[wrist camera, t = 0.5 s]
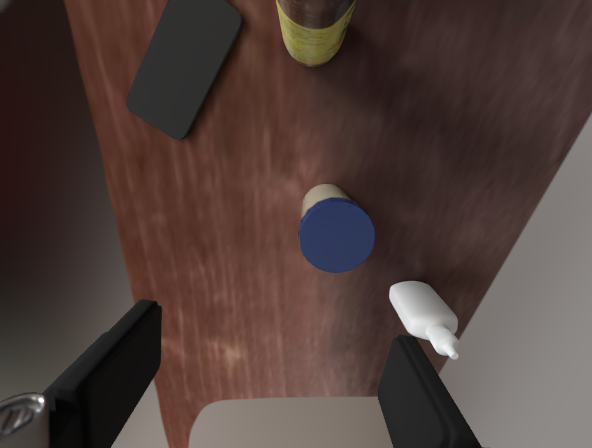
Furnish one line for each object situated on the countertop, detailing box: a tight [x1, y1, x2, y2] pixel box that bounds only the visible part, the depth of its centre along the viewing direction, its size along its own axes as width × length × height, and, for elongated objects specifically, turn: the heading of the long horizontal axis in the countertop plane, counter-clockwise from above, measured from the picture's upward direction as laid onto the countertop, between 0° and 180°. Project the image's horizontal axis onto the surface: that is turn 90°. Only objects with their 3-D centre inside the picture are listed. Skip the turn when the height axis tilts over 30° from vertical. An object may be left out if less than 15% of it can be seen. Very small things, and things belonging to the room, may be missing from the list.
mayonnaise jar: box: [302, 184, 352, 218], centre depth 30 cm, size 6×6×11 cm
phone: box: [126, 0, 243, 139], centre depth 30 cm, size 7×1×15 cm
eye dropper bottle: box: [389, 281, 459, 359], centre depth 32 cm, size 4×6×12 cm
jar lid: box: [298, 197, 375, 273], centre depth 25 cm, size 7×7×2 cm
